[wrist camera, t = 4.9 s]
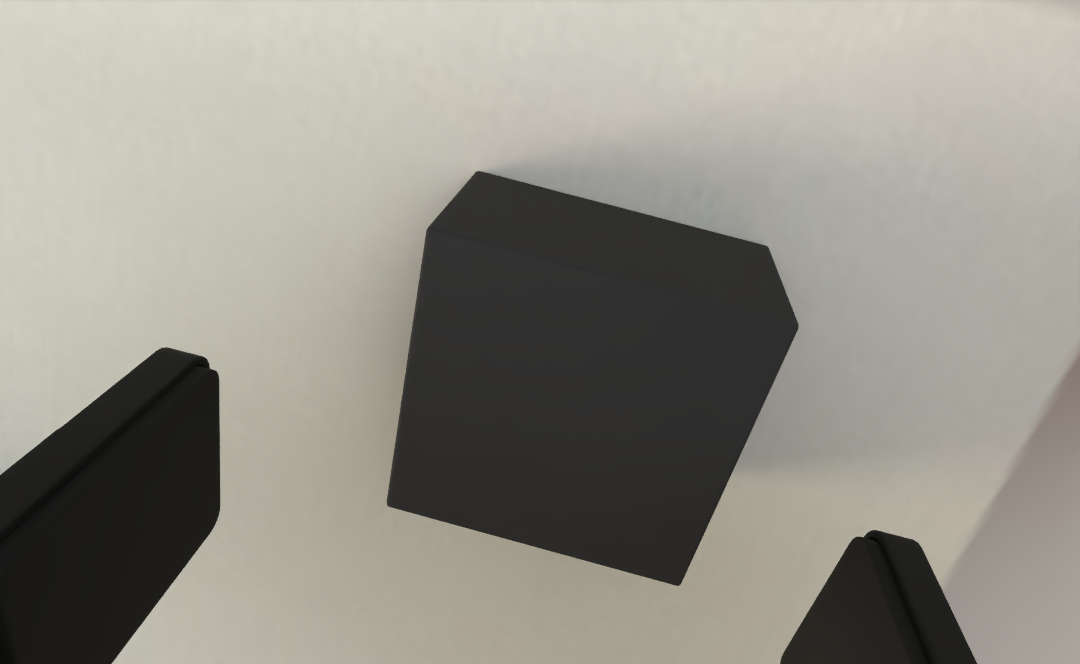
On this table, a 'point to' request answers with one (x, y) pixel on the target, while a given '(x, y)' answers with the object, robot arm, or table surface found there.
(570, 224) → the black block
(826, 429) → the table surface
